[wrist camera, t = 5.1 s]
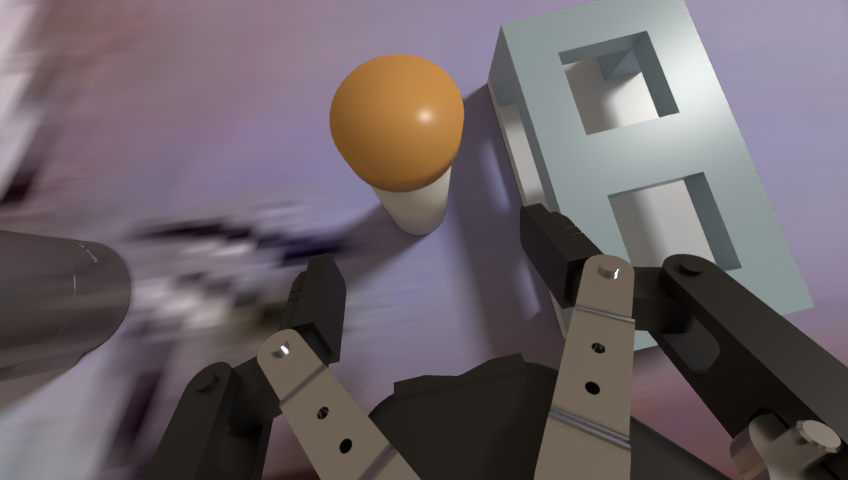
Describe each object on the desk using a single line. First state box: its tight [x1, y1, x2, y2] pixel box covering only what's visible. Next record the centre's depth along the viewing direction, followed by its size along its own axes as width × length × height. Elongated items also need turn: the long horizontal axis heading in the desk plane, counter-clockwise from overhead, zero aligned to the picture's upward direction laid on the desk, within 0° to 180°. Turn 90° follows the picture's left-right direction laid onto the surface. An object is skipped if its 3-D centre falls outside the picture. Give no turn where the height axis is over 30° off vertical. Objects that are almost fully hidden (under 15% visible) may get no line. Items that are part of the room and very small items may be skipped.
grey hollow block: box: [487, 0, 815, 351], centre depth 22 cm, size 22×12×6 cm, turn 14°
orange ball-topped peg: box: [330, 54, 464, 235], centre depth 18 cm, size 5×5×14 cm
